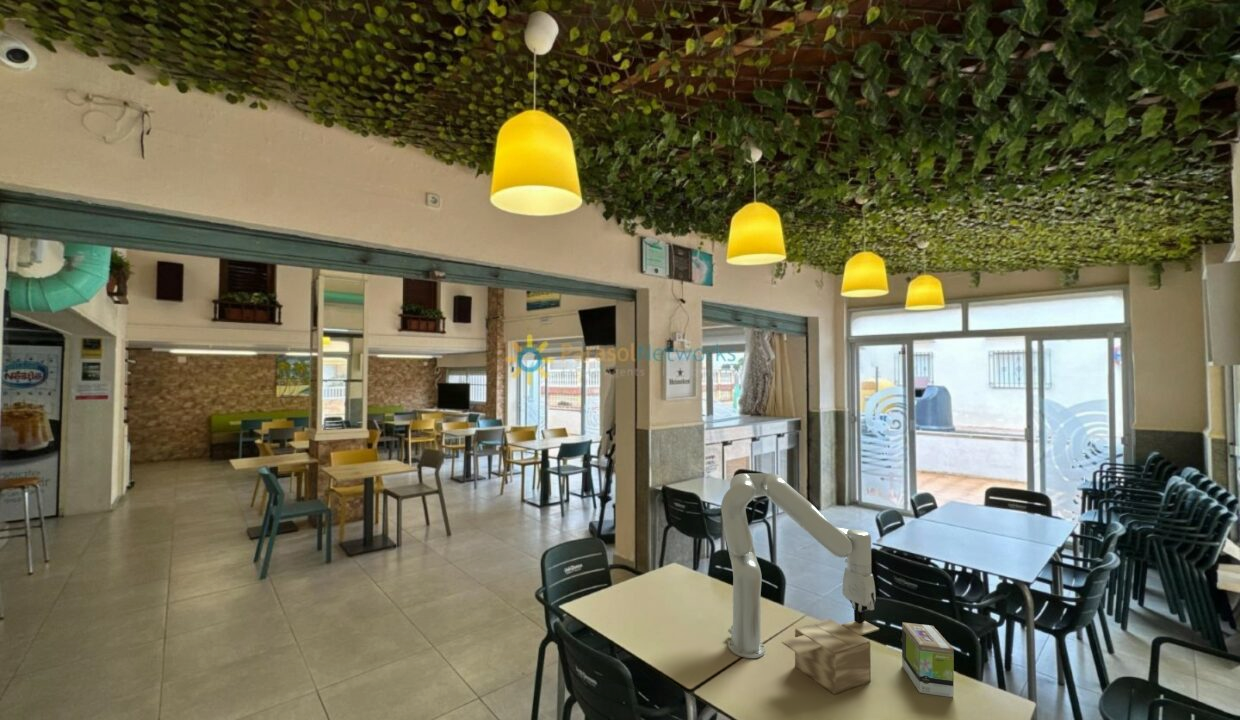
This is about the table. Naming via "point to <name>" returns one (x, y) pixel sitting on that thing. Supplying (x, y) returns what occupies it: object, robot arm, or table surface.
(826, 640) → the near flap
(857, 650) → the carton
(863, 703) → the table surface
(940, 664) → the tea box
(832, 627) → the far flap
